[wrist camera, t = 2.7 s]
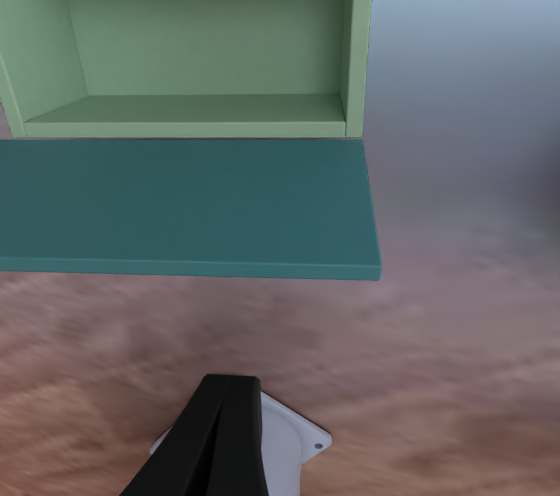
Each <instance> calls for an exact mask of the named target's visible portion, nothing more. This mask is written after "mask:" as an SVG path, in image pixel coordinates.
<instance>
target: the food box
mask: <svg viewBox="0 0 560 496" xmlns="http://www.w3.org/2000/svg"><path fill="white" fill-rule="evenodd" d="M371 2H372V0H0V101H1V104H2V107H3V110H4V113H5V116H6V119H7V122H8V125H9V128H10V131H11V134H12V137H13V138H344V137H346V138H361V137H362V130H363V116H364V102H365V87H366V73H367V59H368V45H369V31H370V16H371Z"/></svg>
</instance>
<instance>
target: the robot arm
mask: <svg viewBox="0 0 560 496" xmlns="http://www.w3.org/2000/svg"><path fill="white" fill-rule="evenodd" d="M331 444H332V436H331V435H330V434H329V433H327V432H326V431H324V430H323V429H321V428H319V427H318V426H316V425H314V424H313V423H311V422H310V421H308V420H306V419H305V418H303V417H302V416H300V415H298V414H297V413H295V412H294V411H292V410H290V409H289V408H287V407H286V406H284V405H282V404H281V403H279V402H278V401H276V400H274V399H273V398H271V397H269V396H268V395H266V394H265V393H263V392H261V387H260V380H259V379H258V378H257V377H256V376H237V375H218V374H207V375H206V376H204V377H203V379H202V381H201V383H200V384H199V386H198V388H197V389H196V391H195V393H194V394H193V396H192V398H191V399H190V401H189V402H188V404H187V405H186V407H185V408H184V410H183V411H182V413H181V414H180V416H179V417H178V419H177V420H176V422H175V423H174V425H173V426H172V427H171V428H170V429H168V430H167V431H166V432H165V433H164V434H163V435H162V436H161V437H160V438H159V439H158V440H157V441H156V442H154V443H153V444H152V446H151V448H150V450H149V451H150V454H151V456H150V458H149V459H148V460H147V462H146V463H145V464H144V465H143V467H142V468H141V469H140V470H139V472H138V473H137V474H136V475H135V477H134V478H133V479H132V481H131V482H130V483H129V484H128V485H127V487H126V488H125V489H124V490H123V491H122V493H121V494H120V495H119V496H300V478H301V465H302V464H303V463H305V462H306V461H308V460H309V459H311V458H312V457H314V456H315V455H317V454H318V453H320V452H321V451H323V450H324V449H325V448H327V447H328V446H330V445H331Z"/></svg>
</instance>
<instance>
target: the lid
mask: <svg viewBox="0 0 560 496" xmlns="http://www.w3.org/2000/svg"><path fill="white" fill-rule="evenodd" d="M0 271H25V272H64V273H103V274H141V275H180V276H219V277H257V278H296V279H334V280H373V281H378V280H380V278H381V272H382V261H381V255H380V249H379V242H378V236H377V229H376V223H375V217H374V210H373V204H372V197H371V191H370V184H369V178H368V172H367V165H366V159H365V152H364V146H363V141H362V140H0Z"/></svg>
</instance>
